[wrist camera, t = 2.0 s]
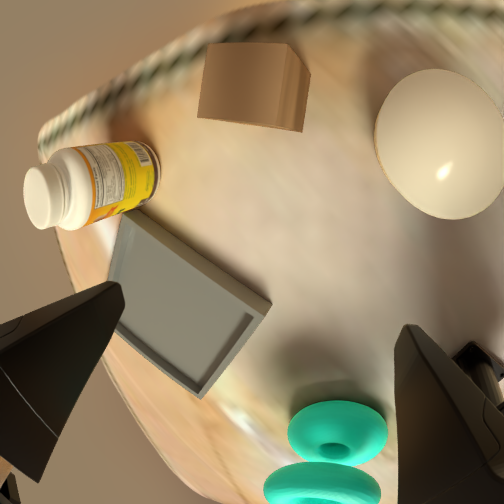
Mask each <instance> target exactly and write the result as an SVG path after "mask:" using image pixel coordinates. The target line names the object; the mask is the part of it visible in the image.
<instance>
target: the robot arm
mask: <svg viewBox="0 0 504 504" xmlns="http://www.w3.org/2000/svg"><path fill="white" fill-rule="evenodd" d="M124 309H125V299H124V295H123V291H122V287H121V285H120V283H118V282H115V281H106V282H104V283H101V284H99V285H96V286H94V287H91V288H89V289H86V290H84V291H81V292H79V293H76V294H74V295H71V296H69V297H66V298H64V299H61V300H59V301H57V302H54V303H51V304H49V305H47V306H44V307H42V308H40V309H37V310H35V311H32V312H30V313H28V314H25V315H24V316H20V317H18V318H16V319H13V320H11V321H8V322H6V323H3V324H0V504H21V502H20V498H19V493H18V489H17V484H16V479H15V475H14V474H12V472H11V470H12V469H13V467H15V468H16V469H18V470H19V471H21V472H22V473H23V474H25V475H26V476H28V477H29V478H31V479H32V480H33V481H35V482H37V483H39V481H40V480H41V477H42V475H43V472H44V470H45V468H46V465H47V463H48V461H49V458H50V456H51V453H52V452H53V449H54V447H55V445H56V443H57V441H58V438H59V436H60V434H61V432H62V430H63V428H64V426H65V424H66V422H67V420H68V418H69V416H70V413H71V412H72V410H73V408H74V406H75V404H76V402H77V400H78V398H79V396H80V394H81V392H82V390H83V388H84V387H85V385H86V383H87V381H88V379H89V377H90V375H91V374H92V372H93V370H94V368H95V366H96V365H97V363H98V361H99V359H100V358H101V356H102V354H103V352H104V351H105V349H106V347H107V345H108V343H109V341H110V339H111V337H112V335H113V333H114V330H115V328H116V326H117V324H118V322H119V320H120V318H121V315H122V313H123V311H124ZM471 347H473V348H472V349H470V348H471ZM394 372H395V381H394V394H395V407H396V420H397V438H398V504H504V398H503V395H502V392H501V389H500V386H499V383H498V382H499V381H500V380H502V379H503V378H504V367H503V366H502V365H501V364H500V363H498V362H497V361H496V360H495V359H494V358H493V357H492V356H491V355H489V354H488V353H487V352H486V351H485V350H484V349H483V348H481V347H480V346H479V345H478V344H477V343H476V342H469V343H468V344H467V345H466V346H465V347H464V348H463V349H462V350H461V351H460V352H459V353H458V354H457V355H456V356H455V357H454V358H453V359H451V358H450V357H449V356H448V355H447V354H446V353H445V352H444V351H443V350H442V349H441V348H440V347H439V346H438V345H437V344H436V343H435V342H434V341H433V340H432V339H431V338H430V337H429V336H428V335H427V334H426V333H425V332H424V331H423V330H422V329H421V328H420V327H419V326H418V325H412V324H406V325H404V326H403V328H402V330H401V333H400V335H399V337H398V339H397V342H396V344H395V348H394Z"/></svg>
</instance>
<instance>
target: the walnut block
mask: <svg viewBox="0 0 504 504" xmlns="http://www.w3.org/2000/svg"><path fill="white" fill-rule="evenodd" d="M310 77H311V74H310V72H309V71H308V70H307V68H306V67H305V66H304V64H303V63H302V62H301V60H300V59H299V58H298V56H297V55H296V54H295V52H294V51H293V50H292V49H291V47H290V46H289V45H288V44H283V43H257V42H237V43H211V44H208V48H207V54H206V60H205V66H204V72H203V79H202V85H201V92H200V99H199V107H198V114H197V118H205V119H213V120H220V121H227V122H234V123H240V124H247V125H255V126H263V127H270V128H277V129H284V130H290V131H296V132H302V130H303V124H304V117H305V111H306V104H307V97H308V91H309V84H310Z"/></svg>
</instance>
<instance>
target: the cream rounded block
mask: <svg viewBox="0 0 504 504" xmlns="http://www.w3.org/2000/svg"><path fill="white" fill-rule="evenodd" d="M374 143H375V150H376V155H377V158H378V161H379V164H380V166H381V168H382V170H383V172H384V174H385V175H386V177H387V178H388V180H389V181H390V182H391V184H392V185H393V186H394V187H395V188H396V189H397V190H398V191H399V192H400V193H401V194H402V196H403V197H404V198H405V199H406V200H407V201H409V202H410V203H411V204H412V205H413V206H415V207H416V208H418V209H419V210H421V211H423V212H425V213H427V214H429V215H431V216H434V217H437V218H442V219H451V220H456V219H464V218H468V217H471V216H474V215H476V214H478V213H480V212H481V211H483V210H485V209H486V208H487V207H488V206H489V205H491V204H492V203H493V201H494V200H495V199H496V198H497V197H498V195H499V194H500V192H501V190H502V188H503V186H504V120H503V118H502V116H501V114H500V112H499V110H498V108H497V107H496V105H495V104H494V102H493V101H492V99H491V98H490V97H489V96H488V95H487V93H486V92H485V91H484V90H482V89H481V88H480V87H479V86H478V85H477V84H475V83H474V82H473V81H471V80H470V79H468V78H466V77H464V76H462V75H460V74H458V73H455V72H452V71H448V70H442V69H426V70H421V71H418V72H415V73H412V74H410V75H408V76H406V77H405V78H403V79H402V80H401V81H400V82H398V83H397V84H396V85H395V86H394V87H393V89H392V90H391V91H390V93H389V94H388V96H387V97H386V99H385V101H384V103H383V105H382V107H381V109H380V111H379V113H378V116H377V119H376V123H375V129H374Z"/></svg>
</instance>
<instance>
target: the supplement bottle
mask: <svg viewBox="0 0 504 504" xmlns="http://www.w3.org/2000/svg"><path fill="white" fill-rule="evenodd" d="M160 175H161V173H160V165H159V161H158V159H157V156H156V154H155V153H154V151H153V150H152V149H151V148H150V147H149V146H148V145H146V144H145V143H142V142H139V141H125V142H112V143H102V144H93V145H85V146H77V147H70V148H63V149H60V150H58V151H56V152H55V153H54V154H53V155H52V156H51V157H50V159H49V160H48V162H47V163H45V164H42V165H39V166H34V167H32V168H30V169H29V170H28V172H27V174H26V176H25V180H24V201H25V206H26V210H27V213H28V216H29V218H30V220H31V222H32V223H33V224H34V226H35V227H37V228H38V229H45V228H48V227H51V226H56V225H58V226H60V227H61V228H63V229H65V230H76V229H79V228H82V227H84V226H87V225H89V224H92V223H94V222H97V221H100V220H102V219H105V218H108V217H110V216H114V215H116V214H119V213H121V212H124V211H127V210H130V209H133V208H136V207H139V206H141V205H144V204H146V203H147V202H149V201H150V200H151V199H152V198H153V197H154V195H155V194H156V192H157V190H158V187H159V184H160Z"/></svg>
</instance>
